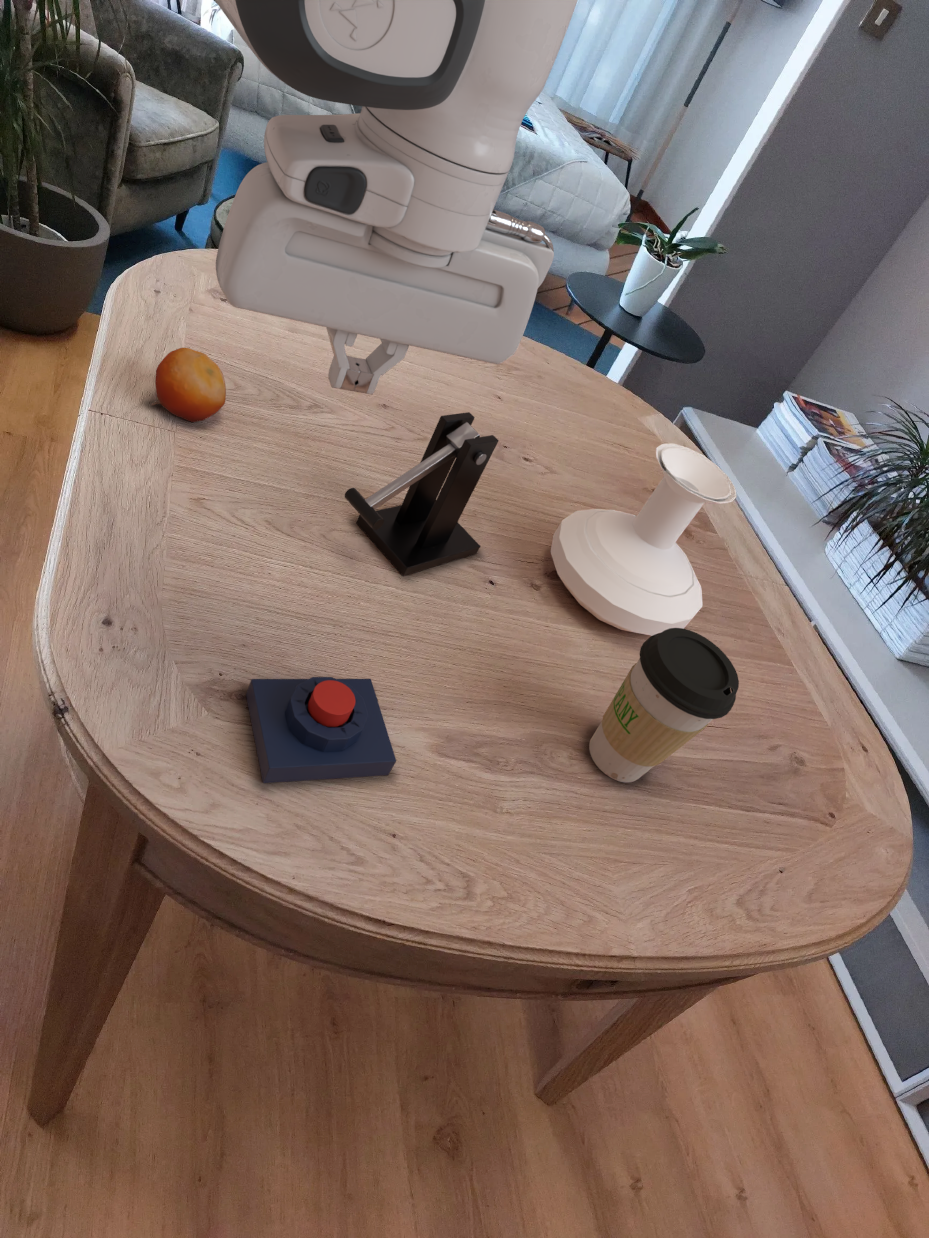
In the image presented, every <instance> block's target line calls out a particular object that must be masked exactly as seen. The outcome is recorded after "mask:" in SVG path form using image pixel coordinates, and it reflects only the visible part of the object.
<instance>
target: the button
mask: <svg viewBox="0 0 929 1238" xmlns="http://www.w3.org/2000/svg"><path fill="white" fill-rule="evenodd" d="M354 706H355V696H354V694H353V692H352V691H351V690H350V688H349V687H347V686H346V685H344V684H343V683H341V682H338V681H333V680H327V681H323V682H321V683H319V684H318V685H317V686H316V687H315V688H314V691H313V693H312V695H311V697H310V700H309V702H308V711H309V713H310V715H311V717H312V718H313V719H314V720H315V721H316V722H318V723H319V724H321V725H324V726H327V727H338V726H341V725H343V724H344V723H345V722H346V721H347V720H348V718H349V716H350V714H351V712H352V710H353V708H354Z"/></svg>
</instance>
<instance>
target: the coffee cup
mask: <svg viewBox="0 0 929 1238" xmlns="http://www.w3.org/2000/svg"><path fill="white" fill-rule="evenodd" d="M739 686H740V681H739V675H738V673H737V670H736V668H735V666H734V663H732V661H731V659H730V658H729V657H728V656H727V654H726V653H724V652H723V651H722V649H721V648H720V647H718V646H717V645H716V644H715V643H713V642H712V641H711V640H710V639H709V638H707V637H705V636H703V635H701V634H700V633H698V632H695V631H693V630H690V629H686V628H684V629H683V628H669V629H667V630H664V631H663V632H661V633H658V634H655V635H653V636H651V635H650V637H648V638H647V639H646V640H645V641H644V642H643V643H642V645H641V647H640V649H639V658H638V660H637V662H636V663H634V664H633V665H632V666H631V668H630V670H629V672H628V673H627V675H626V676H625V678H624V680H623V682H622V683H621V685H620V686H619V689H618V690H617V692H616V693H615V695H614V697H613V698H612V699H611V702H610V704H609V705H608V707H607V708H606V710H605V712H604V714H603V716H602V718H601V721H600V722H599V725H598V727H597V728H596V730H595V732H594V733H593V734H592V736H591V738H590V740H589V742H588V743H589V744H588V749H589V754H590V757H591V759H592V761H593V763H594V764H595V765H596V767H597V768H598V770H600V771H601V772H602V773H603V774H604V775H606V776H607V777H609V778H611V779H613V780H615V781H616V782H617V781H618V782H621V783H632V782H635V781H637V780H639V779H640V778H641V777H642V776H644V775H646V773H648V772H649V771H650V770H651V769H653V768H654V767H655V766H658V765H660V764H661V763H663V762H664V761H665V760H666V759H668V758H669V757H670V756H672V755H673V754H674V753H676V752H677V751H678V750H679V749H681V748H682V747H683V746H684V745H686V744H687V743H688V742H689V741H691V740H692V739H693V738H695V737H696V736H697V735H698V734H699V733H702V731H704V730H705V729H706V728H707V726H709V723H711V722H712V721H714V720H716V719H717V720H718V719H722V718H723V717H725V716H727V715H728V714H729V713H730V711H731V710H732V708H733V707H734V705H735V702H736V700H737V699H736V698H737V693H738V690H739Z"/></svg>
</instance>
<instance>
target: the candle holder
mask: <svg viewBox="0 0 929 1238" xmlns="http://www.w3.org/2000/svg"><path fill="white" fill-rule="evenodd" d="M655 457H656V460H657V462H658V465H659V467H660V470H661V472H662V475H663V477H662V478H661V479H660V481H659V482H658V484H657V485H656V487H655V488H654V490H653V491H652V492H651V494H650V495H649V497H648V498H647V500H646V501H645V503H644V504H643V506H642V507H641V509H640V510H639V511H638V513H637V515H636V514H632V513H629V512H625V511H620V510H616V509H606V508H605V509H604V508H590V509H589V508H588V509H582V510H581V509H580V510H575V511H573V512H572V513H571V514H569V515H568V516H567V517H565V518H563V519H561V521H560V523H559V524H558V526H557V527H556V529H555V531H554V533H553V535H552V541H551V547H550V555H551V559H552V561H553V564H554V567H555V570H556V574H557V576H558V577H559V579H560V580H561V582H562V583H563V585H564V587H565V588H566V589H567V591H568V592H569V593H570V594H571V595H572V597H573V598H574V599H575V600H576V601H577V603H578V604H579V605H580V606H581V607H582V608H584V609H585V610H586V611H588V612H589V613H590V614H591V615H593V616H594V617H595V618H596V619H597V620H599V621H601V622H603V623H605V624H607V625H610V626H612V627H614V628H616V629H618V630H621V631H625V632H630V633H636V634H642V635H647V636H650V637H651V636H653V635H655V634H658V633H661V632H663V631H664V630H667V629H669V628H683V629H686V627H687V626H688V624H689V623H690V622H691V621H692V620H693V619H694V617H695V616H696V615H697V614H698V613H699V611H700V610H701V609H702V608H703V605H704V604H703V591H702V586H701V583H700V581H699V580H698V577H697V575H696V573H695V571H694V568H693V565H692V564H691V562H690V560H689V558H688V556H687V554H686V553H685V551H684V550H683V549H682V548H681V547H680V546H679V544H678V543H677V541H678V539H679V538H680V537H681V535H682V534H683V533H684V531H685V530H686V529H687V528H688V526H689V524H690V523H691V522H692V521H693V520H694V518H695V516H696V515H697V514H698V512H700V510H701V508H703V506H704V504H705V505H706V504H717V505H720V504H721V505H722V504H730V503H732V502H734V500H736V499H737V498H738V497H737V490H736V489H737V488H736V487H735V485H734V483H733V481H732V480H731V478H730V477H729V476H728V474H727V473H725V472H724V470H723V469H722V468H720V467H719V466H718V465H717V464H716V463H715V462H714V461H712V460H710V459H709V458H708V457H706V456H705V455H704V454H701V453H700V452H698V451H696V450H694V449H692V448H691V447H687V446H683V445H681V444H677V443H675V442H672V443H671V442H670V443H661V444H660V445H658V446H656V447H655Z"/></svg>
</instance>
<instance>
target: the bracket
mask: <svg viewBox="0 0 929 1238" xmlns="http://www.w3.org/2000/svg"><path fill="white" fill-rule="evenodd" d="M475 418H476V417H475V416H474V415H473V414H472V413H471V412H470V411H467V412H460V413H452V414H444V415H440V417H439V419H438V421H437V424H436V426H435V428H434V431H433V432H432V435H431V437H430V440H429V442H428V444H427V446H426V449H425V450H424V453H423V456H422V458H421V460H420V462H419V463H421V462H422V461H424V460H425V459H427V458H428V457H430V456H431V455H433V454H434V453H436V452H437V451H439V450H440V449H442V448H443V447H445V446H446V445H447V435H448V434H450V433H451V432H453V431H454V430H456V429H457V428H459V427H460V426H462V425H463V424H465V423H466V422H468V423H469V424H470V425H471V426H472V424H473V422H474V420H475ZM498 443H499V439H498V438H497V437H496V436H495V435H494V434H491V435H485V436H480V437H478V438H472V439H466V440H465V441H464V443H463V445H462V447H461V449H460V451H459V453H458V455H457V458H456V457H455V456H454V457H452V458H451V459H449V460H448V461H446V462H445V463H443V464H442V465H441V466H439V467H438V468H436V469H435V470H433V471H432V472H430V473H429V474H427V475H426V476H424V477H423V478H421V479H420V480H418V481H417V482H415V483H414V484H412V485H411V486H409V487H408V488H407V492H406V494H405V496H404V499H403V501H402V503H401V504H400V505H396V506H391V507H386V508H383V509H377V510H375V511H376V512H377V513H378V514H379V515H380V516H381V517H382V518H383V520H384V524H383V525H382V526H381V527H380V528H379V529H377V530H374V529H372V527H371V526H370V525H369V524H368V523H367V522H366V521H365V520H364V519H363V517H362V516H361V515H360V514H358V516H357V519H356V522H355V523H356V525H357V526H358V527H359V528H360V530H362V532H363V533H364V534H365V535H366V537H368V539H370V540H371V542H372V543H373V544H374V545H375V546H376V547H377V549H378V550H379V551H380V552H381V553H382V554H383V555H384V557H385V558H386V559H387V560H388V561H389V562H390V563H391V564H392V565H393V566H394V568H395V569H396V570H397V571H398V572H399V573H400V574H401V575H402V577H405V576H408V575H412V574H415V573H418V572H419V573H420V572H421V571H426V570H428V569H432V568H434V567H438V566H441V565H444V564H445V565H446V564H448V563H451V562H454V561H458V560H460V559H464V558H466V557H470V556H473V555H477V554H478V552H479V550H480V549H481V545H480V544H479V543H478V542H477V540H475V539H474V538H473V536H472V535H471V534H470V533H469V532H467V530H466V528H464V527H463V526H462V525H461V524H460V523H459V521H460V519H461V516H462V514H463V513H464V510H465V508H466V506H467V504H468V502H469V501H470V498H471V496H472V495H473V492H474V490H475V488H476V486H477V484H478V483H479V481H480V478H481V477H482V475H483V472H484V471H485V469H486V467H487V465H488V463H489V461H490V459H491V457H492V455H493V454H494V451H495V449H496V447H497V445H498Z"/></svg>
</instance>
